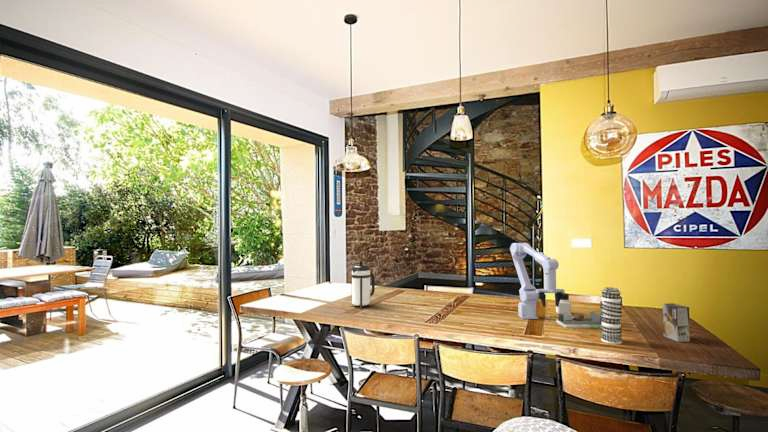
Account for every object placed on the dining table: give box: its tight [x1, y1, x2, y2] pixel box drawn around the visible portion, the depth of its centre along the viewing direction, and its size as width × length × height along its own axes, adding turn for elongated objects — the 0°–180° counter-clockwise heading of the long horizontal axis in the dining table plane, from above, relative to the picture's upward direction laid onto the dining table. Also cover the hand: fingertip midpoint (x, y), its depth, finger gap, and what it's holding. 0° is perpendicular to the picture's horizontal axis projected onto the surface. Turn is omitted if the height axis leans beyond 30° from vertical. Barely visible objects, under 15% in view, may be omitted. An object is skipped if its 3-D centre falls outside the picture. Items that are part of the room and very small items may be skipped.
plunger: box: [558, 313, 576, 322], centre depth 210 cm, size 8×5×4 cm, turn 89°
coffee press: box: [350, 260, 376, 310], centre depth 256 cm, size 17×16×30 cm
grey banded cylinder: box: [599, 286, 623, 345], centre depth 182 cm, size 9×9×25 cm
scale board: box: [555, 310, 602, 329], centre depth 210 cm, size 20×12×6 cm, turn 89°
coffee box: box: [662, 302, 691, 343], centre depth 185 cm, size 9×6×16 cm
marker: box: [573, 313, 585, 321], centre depth 210 cm, size 3×5×4 cm, turn 179°
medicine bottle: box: [555, 292, 572, 315], centre depth 235 cm, size 7×7×12 cm
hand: (550, 306), depth 210 cm, fingers open, 6 cm apart
